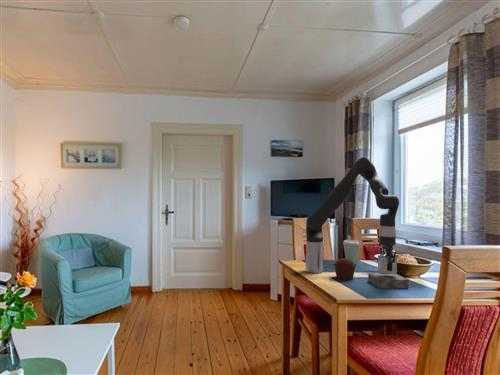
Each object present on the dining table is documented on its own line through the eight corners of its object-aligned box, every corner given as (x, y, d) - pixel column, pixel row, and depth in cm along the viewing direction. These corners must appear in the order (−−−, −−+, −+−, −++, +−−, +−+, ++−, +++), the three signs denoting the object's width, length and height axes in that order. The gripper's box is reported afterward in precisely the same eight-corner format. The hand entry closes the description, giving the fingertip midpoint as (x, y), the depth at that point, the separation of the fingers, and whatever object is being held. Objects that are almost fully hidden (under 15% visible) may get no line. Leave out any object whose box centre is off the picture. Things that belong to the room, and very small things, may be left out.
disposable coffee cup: (362, 265, 217) (362, 241, 217) (344, 265, 217) (344, 241, 218) (357, 262, 228) (357, 239, 228) (340, 262, 228) (340, 239, 228)
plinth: (379, 288, 163) (379, 279, 163) (368, 280, 177) (368, 273, 177) (408, 288, 164) (408, 279, 164) (395, 280, 178) (395, 273, 178)
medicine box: (393, 272, 173) (393, 255, 173) (397, 274, 169) (397, 256, 169) (377, 272, 173) (377, 255, 173) (381, 274, 168) (381, 256, 169)
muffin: (331, 275, 190) (331, 256, 190) (352, 275, 190) (352, 257, 190) (337, 280, 178) (337, 260, 178) (358, 280, 178) (358, 261, 178)
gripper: (374, 233, 178) (374, 266, 178) (386, 236, 164) (386, 272, 164) (388, 233, 179) (388, 266, 178) (401, 236, 164) (401, 272, 164)
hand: (387, 269), depth 171 cm, fingers closed on medicine box, 4 cm apart
